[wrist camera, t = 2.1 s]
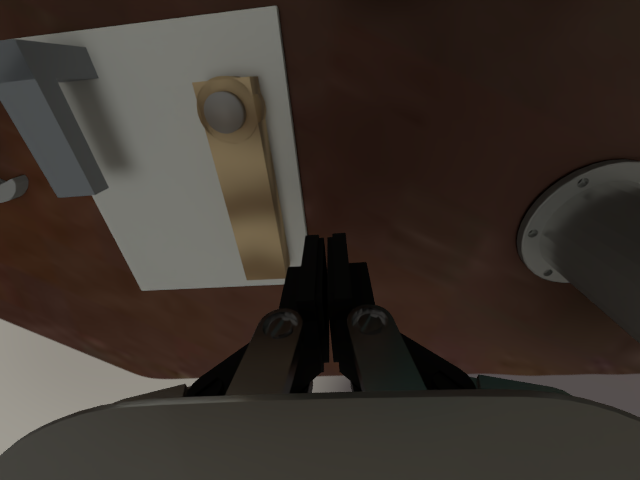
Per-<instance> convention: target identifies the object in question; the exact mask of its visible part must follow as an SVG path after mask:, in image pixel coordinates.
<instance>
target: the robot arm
mask: <svg viewBox="0 0 640 480" xmlns="http://www.w3.org/2000/svg"><path fill="white" fill-rule="evenodd" d="M517 249H518V254H519V256H520V258H521V260H522V262H523V263H524V264H525V265H526V266H527V267H528V268H529V269H530V270H531V271H532V272H533V273H534V274H536V275H537V276H539V277H541V278H543V279H546V280H549V281H553V282H561V283H571V284H572V285H573V286H574V287H576V288H577V289H578V290H579V291H580V292H581V293H582V294H584V295H585V296H586V297H587V298H588V299H589V300H590V301H592V302H593V303H594V304H595V305H596V306H597V307H598V308H600V309H601V310H602V311H603V312H604V313H605V314H606V315H608V316H609V317H610V318H611V319H612V320H613V321H615V322H616V323H617V324H618V325H619V326H620V327H621V328H623V329H624V330H625V331H626V332H627V333H628V334H629V335H631V336H632V337H633V338H634V339H635V340H636V341H637V342H639V343H640V161H636V160H627V159H620V160H608V161H604V162H600V163H595V164H592V165H589V166H587V167H584V168H582V169H579V170H577V171H575V172H573V173H571V174H569V175H568V176H566V177H564V178H562V179H561V180H559V181H558V182H557V183H555V184H554V185H552V186H551V187H550V188H548V189H547V190H546V191H545V192H544V193H543V194H542V195H541V196H540V197H539V198H538V199H537V200H536V201H535V202H534V204H533V205H532V206H531V207H530V209H529V210H528V212H527V213H526V215H525V217H524V218H523V220H522V222H521V225H520V228H519V231H518V236H517ZM329 321H330V331H331V340H332V350H333V360H334V362H339V369H340V372H341V373H342V374H343V375H344V376H345V377H347V378H348V379H349V380H350V381H351V389H352V392H330V393H312V389H313V379H314V378H315V377H316V376H318V375H319V374H320V373H321V372H324V363H327V362H329ZM0 480H640V417H637V416H635V415H632V414H630V413H628V412H625V411H623V410H620V409H617V408H615V407H612V406H608V405H605V404H601V403H598V402H595V401H591V400H588V399H584V398H580V397H575V396H572V395H570V394H568V393H566V392H565V391H563V390H559V389H557V388H553V387H548V386H543V385H536V384H531V383H525V382H519V381H513V380H507V379H501V378H496V377H490V376H484V375H478V377H477V378H473V377H469V376H468V375H467V374H466V373H465V372H463V371H462V370H461V369H459V368H458V367H456V366H454V365H453V364H451V363H449V362H448V361H446V360H444V359H443V358H441V357H439V356H438V355H436V354H434V353H433V352H431V351H429V350H428V349H426V348H425V347H423V346H421V345H420V344H418V343H416V342H415V341H413V340H411V339H410V338H408V337H406V336H405V335H403V334H401V333H400V332H399V330H398V328H397V326H396V323H395V321H394V319H393V317H392V316H391V314H390V313H389V312H388V311H387V310H386V309H384V308H382V307H380V306H378V305H375V302H374V297H373V292H372V287H371V282H370V277H369V273H368V268H367V263H366V262H362V263H349V262H348V253H347V244H346V234H345V233H337V234H333V237H328V261H327V266H326V256H325V245H324V238H319V235H307V236H305V242H304V249H303V256H302V263H301V266H294V267H288V269H287V273H286V278H285V283H284V287H283V292H282V297H281V302H280V306H279V309H277V310H274V311H271V312H270V313H268V314H266V315H265V316H264V317H263V318H262V319H261V321H260V322H259V324H258V326H257V328H256V330H255V332H254V334H253V337H252V339H251V341H250V343H248V344H247V345H245V346H244V347H243V348H241V349H240V350H238V351H237V352H235V353H234V354H233V355H231V356H230V357H228V358H227V359H226V360H224V361H223V362H221V363H220V364H218V365H217V366H216V367H214V368H213V369H211V370H210V371H208V372H207V373H206V374H204V375H203V376H201V377H200V378H199V379H198V380H197V381H195V383H193V385H192V386H190V387H187V386H186V385H185V384H183V385H178V386H175V387H170V388H166V389H162V390H158V391H154V392H150V393H147V394H142V395H139V396H134V397H130V398H126V399H123V400H120V401H117V402H115V403H112V404H107V405H101V406H97V407H93V408H90V409H86V410H82V411H79V412H76V413H74V414H71V415H68V416H65V417H63V418H60V419H57V420H55V421H52V422H50V423H48V424H46V425H44V426H42V427H40V428H38V429H36V430H34V431H32V432H30V433H29V434H27V435H26V436H24V437H23V438H21V439H20V440H18V441H17V442H16V443H14V445H12V446H11V447H10V448H8V449H7V450H6V451H5V452H4V453H3V454H1V455H0Z"/></svg>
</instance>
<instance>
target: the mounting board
mask: <svg viewBox="0 0 640 480" xmlns="http://www.w3.org/2000/svg"><path fill="white" fill-rule="evenodd" d="M217 76H239V77H249V76H258V80H259V86H260V92H261V94H262V96H263V99H264V101H265V106H266V117H265V120H266V126H267V132H268V138H269V143H270V149H271V155H272V161H273V166H274V172H275V178H276V184H277V190H278V195H279V201H280V207H281V213H282V218H283V224H284V230H285V236H286V241H287V247H288V253H289V259H290V267H294V266H301V263H302V256H303V249H304V242H305V236H307V228H306V220H305V212H304V205H303V197H302V189H301V181H300V174H299V166H298V158H297V150H296V143H295V135H294V127H293V119H292V112H291V104H290V96H289V88H288V80H287V73H286V65H285V57H284V49H283V42H282V34H281V26H280V18H279V11H278V7H277V6H270V7H262V8H254V9H246V10H238V11H230V12H222V13H214V14H206V15H198V16H190V17H183V18H175V19H167V20H159V21H151V22H143V23H135V24H127V25H119V26H111V27H104V28H96V29H88V30H80V31H72V32H64V33H56V34H48V35H40V36H32V37H24V38H17V39H10V40H2V41H0V100H1V102H2V104H3V105H4V107H5V109H6V111H7V112H8V114H9V116H10V117H11V119H12V121H13V122H14V124H15V126H16V127H17V129H18V131H19V133H20V134H21V136H22V138H23V139H24V141H25V143H26V144H27V146H28V148H29V149H30V151H31V153H32V155H33V156H34V158H35V160H36V161H37V163H38V165H39V166H40V168H41V170H42V171H43V173H44V175H45V177H46V178H47V180H48V182H49V183H50V185H51V187H52V188H53V190H54V192H55V193H56V195H57V197H58V198H60V197H74V196H87V195H92V197H93V199H94V201H95V203H96V204H97V206H98V208H99V210H100V212H101V214H102V216H103V218H104V220H105V222H106V223H107V225H108V227H109V229H110V231H111V233H112V235H113V237H114V239H115V241H116V243H117V244H118V246H119V248H120V250H121V252H122V254H123V256H124V258H125V260H126V262H127V263H128V265H129V267H130V269H131V271H132V273H133V275H134V277H135V279H136V281H137V283H138V284H139V286H140V288H141V290H142V291H146V290H168V289H190V288H212V287H234V286H256V285H278V284H284V283H285V279H266V280H247V279H246V276H245V272H244V269H243V265H242V261H241V258H240V254H239V251H238V247H237V243H236V240H235V236H234V233H233V229H232V225H231V222H230V218H229V215H228V211H227V207H226V204H225V200H224V197H223V193H222V189H221V186H220V182H219V179H218V175H217V171H216V168H215V164H214V161H213V157H212V153H211V150H210V146H209V143H208V139H207V135H206V132H205V128H204V127H203V125H202V123H201V121H200V119H199V116H198V112H197V99H196V96H195V92H194V89H193V85H192V82H202V81H208V80H209V79H211V78H214V77H217Z"/></svg>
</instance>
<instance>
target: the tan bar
mask: <svg viewBox="0 0 640 480" xmlns="http://www.w3.org/2000/svg"><path fill="white" fill-rule="evenodd" d="M192 85H193V89H194V92H195V96H196V99H197V112H198V116H199V119H200V121H201V123H202V125H203V127H204V128H205V132H206V135H207V139H208V143H209V146H210V150H211V153H212V157H213V161H214V164H215V168H216V171H217V175H218V179H219V182H220V186H221V189H222V193H223V197H224V200H225V204H226V207H227V211H228V215H229V218H230V222H231V225H232V229H233V233H234V236H235V240H236V243H237V247H238V251H239V254H240V258H241V261H242V265H243V269H244V272H245V276H246V279H247V280H266V279H285V278H286V273H287V269H288V267H290V259H289V253H288V247H287V241H286V236H285V230H284V224H283V218H282V213H281V207H280V201H279V195H278V190H277V184H276V178H275V172H274V166H273V161H272V155H271V149H270V143H269V138H268V132H267V126H266V120H265V117H266V106H265V101H264V99H263V96H262V94H261V92H260V86H259V80H258V76H249V77H239V76H217V77H214V78H211V79H209V80H208V81H202V82H192Z"/></svg>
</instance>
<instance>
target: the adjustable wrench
mask: <svg viewBox="0 0 640 480" xmlns="http://www.w3.org/2000/svg"><path fill="white" fill-rule="evenodd" d="M27 188H28V179H27V177H26V176H25V175H22V176H19V177H16V178H13V179H10V180H8V181H7V182H6V181H4V180H2V179H0V203H2V202H6V201H9V200H11V199H14V198H17V197H19V196H21V195H23V194H24V193H25V192H26V190H27Z"/></svg>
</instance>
